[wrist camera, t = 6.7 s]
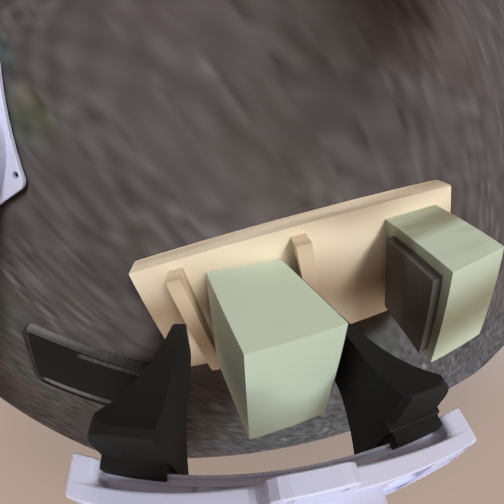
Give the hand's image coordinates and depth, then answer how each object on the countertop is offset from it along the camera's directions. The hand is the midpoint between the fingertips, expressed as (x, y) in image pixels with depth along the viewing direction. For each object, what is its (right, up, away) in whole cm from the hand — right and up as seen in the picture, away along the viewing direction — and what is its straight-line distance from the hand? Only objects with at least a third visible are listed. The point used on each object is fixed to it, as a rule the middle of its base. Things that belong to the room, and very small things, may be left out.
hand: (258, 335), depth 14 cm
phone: (-14, -7, +7) cm, 17 cm away
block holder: (+3, +3, +4) cm, 6 cm away
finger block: (-1, +1, +2) cm, 2 cm away
